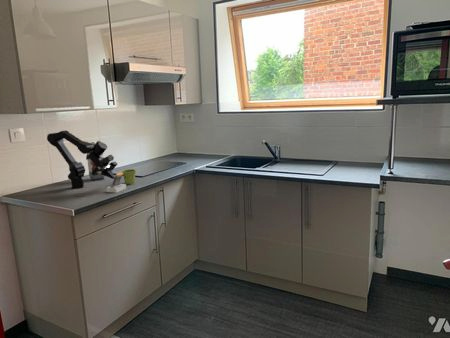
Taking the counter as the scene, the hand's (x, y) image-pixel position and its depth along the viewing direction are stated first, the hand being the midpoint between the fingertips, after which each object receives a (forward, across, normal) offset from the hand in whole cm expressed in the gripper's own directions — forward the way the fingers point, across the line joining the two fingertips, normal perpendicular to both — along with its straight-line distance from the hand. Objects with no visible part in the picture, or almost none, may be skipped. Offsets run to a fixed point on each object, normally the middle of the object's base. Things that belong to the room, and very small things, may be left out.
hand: (114, 178), depth 211 cm
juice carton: (-16, +23, +28) cm, 39 cm away
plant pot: (+5, +16, +6) cm, 18 cm away
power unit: (+6, 0, +5) cm, 7 cm away
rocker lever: (+3, 0, +2) cm, 4 cm away
